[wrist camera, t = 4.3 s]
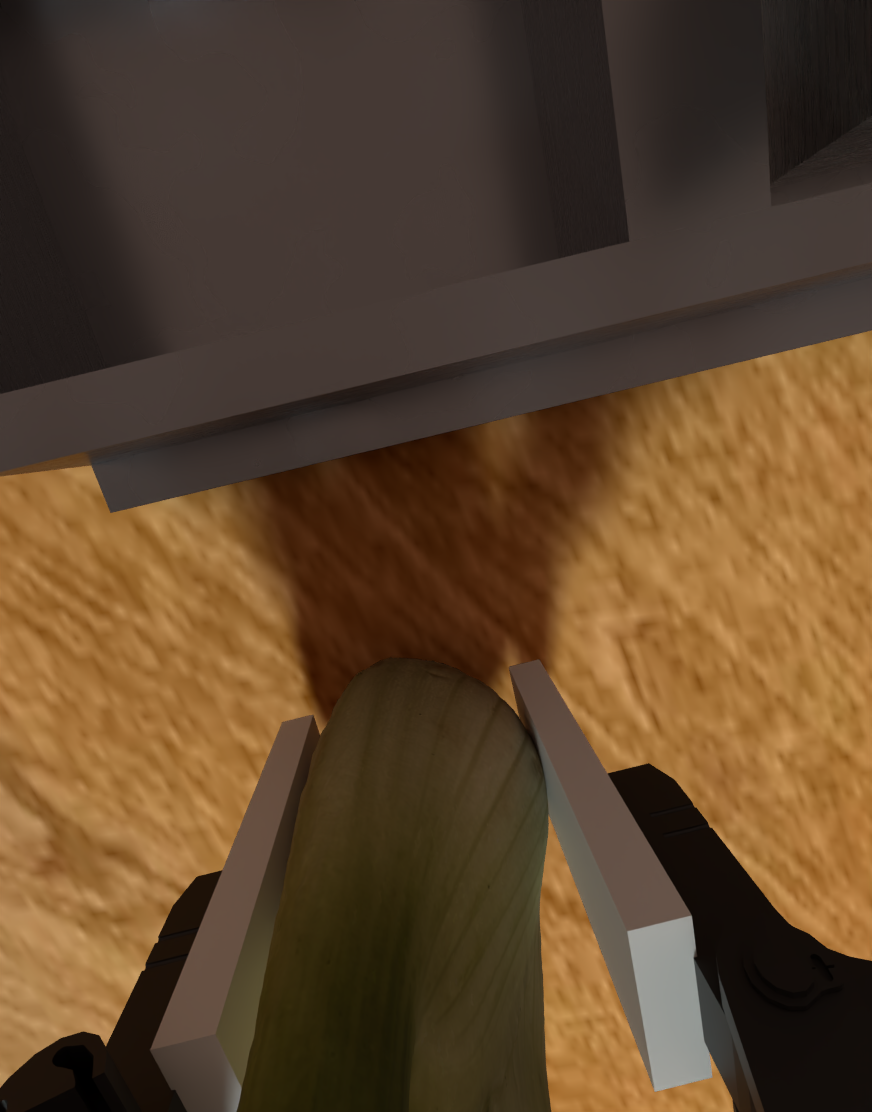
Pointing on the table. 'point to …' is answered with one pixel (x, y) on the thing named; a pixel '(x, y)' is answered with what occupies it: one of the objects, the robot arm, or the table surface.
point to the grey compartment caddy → (406, 217)
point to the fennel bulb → (410, 909)
